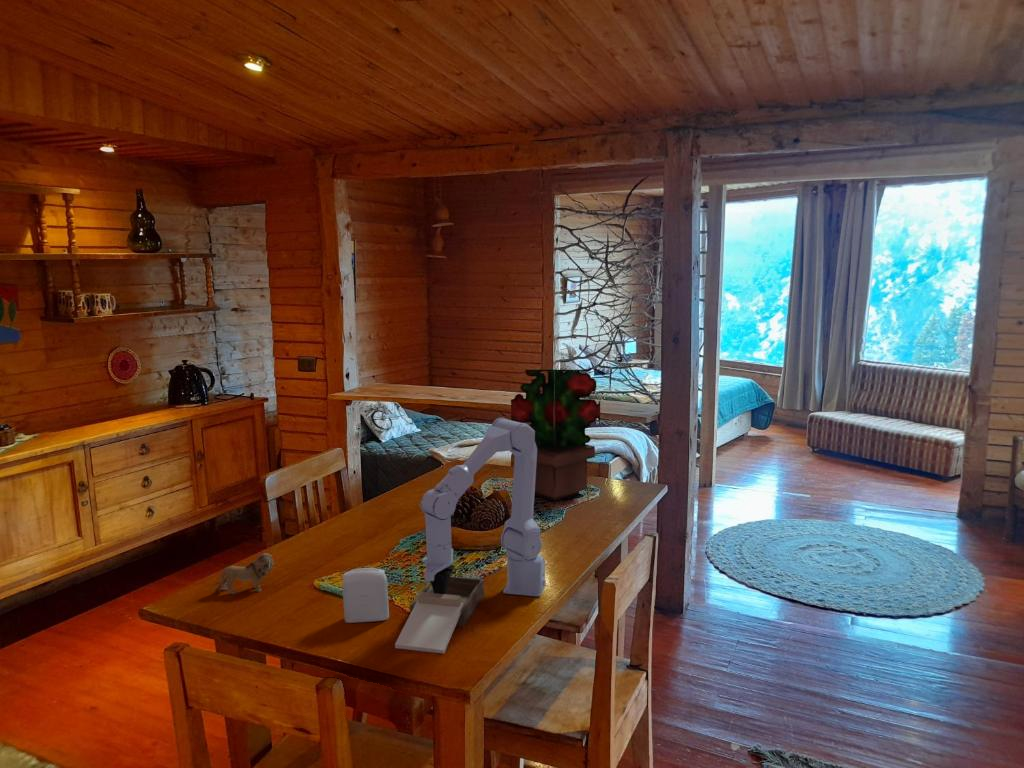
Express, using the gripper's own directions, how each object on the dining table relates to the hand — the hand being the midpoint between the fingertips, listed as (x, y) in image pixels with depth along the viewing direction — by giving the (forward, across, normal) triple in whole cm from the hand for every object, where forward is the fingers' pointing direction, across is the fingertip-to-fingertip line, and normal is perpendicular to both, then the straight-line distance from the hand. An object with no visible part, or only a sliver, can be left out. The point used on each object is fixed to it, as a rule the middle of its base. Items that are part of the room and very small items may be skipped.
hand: (440, 597), depth 169 cm
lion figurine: (+5, -5, -54) cm, 54 cm away
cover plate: (+3, +8, 0) cm, 8 cm away
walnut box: (+5, -6, 0) cm, 8 cm away
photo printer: (+5, +4, -17) cm, 18 cm away
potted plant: (+5, -97, +10) cm, 98 cm away
